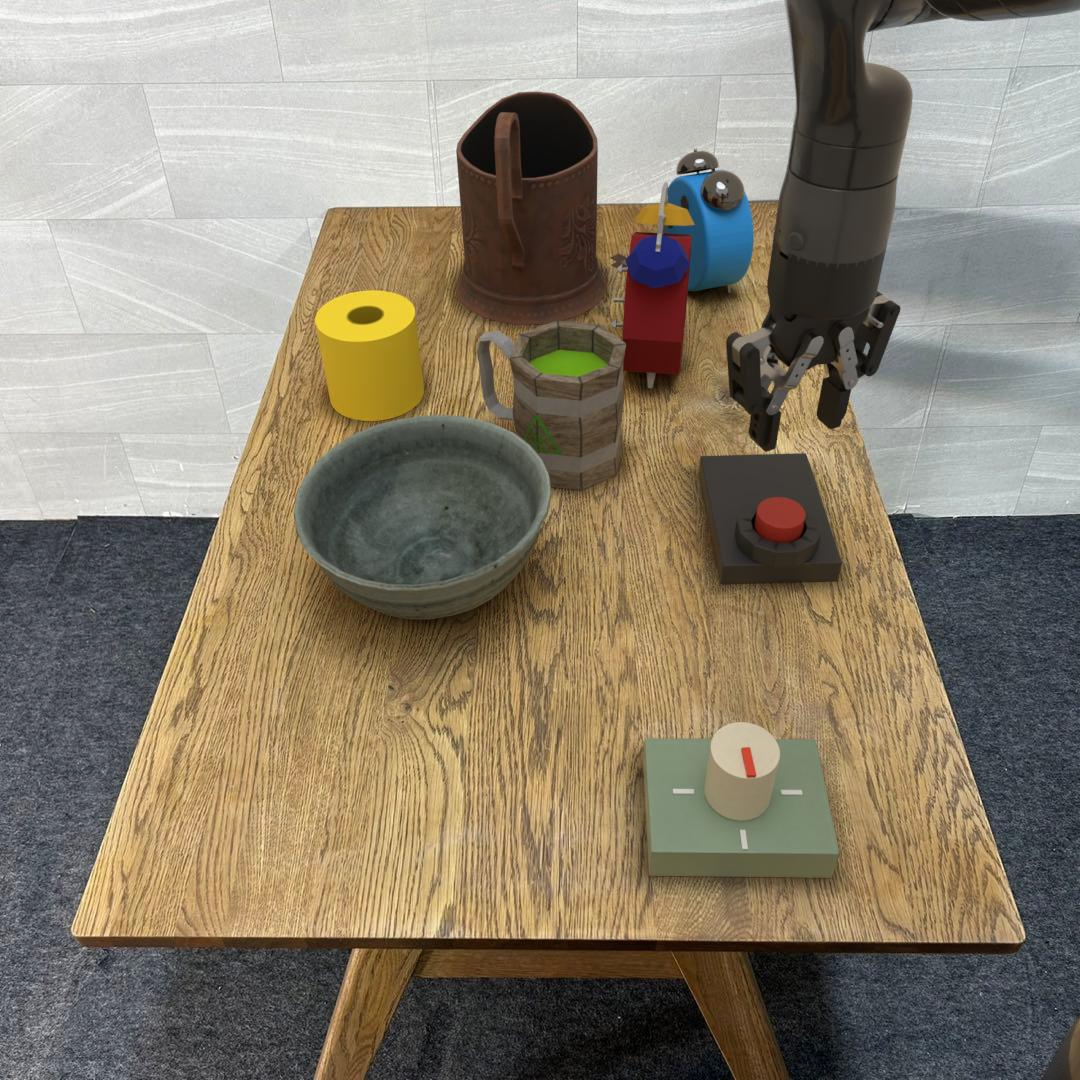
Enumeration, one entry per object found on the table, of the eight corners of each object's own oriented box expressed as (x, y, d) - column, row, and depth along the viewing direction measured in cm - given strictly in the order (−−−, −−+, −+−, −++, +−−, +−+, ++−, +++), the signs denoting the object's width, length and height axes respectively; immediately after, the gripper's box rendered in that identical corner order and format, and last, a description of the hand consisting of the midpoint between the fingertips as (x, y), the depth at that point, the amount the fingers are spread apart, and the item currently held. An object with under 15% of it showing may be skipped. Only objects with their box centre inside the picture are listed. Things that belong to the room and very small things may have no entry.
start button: (806, 542, 87) (810, 527, 86) (758, 544, 87) (761, 528, 86) (797, 511, 90) (800, 496, 89) (751, 512, 90) (753, 497, 89)
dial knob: (699, 766, 72) (706, 720, 68) (763, 763, 72) (773, 717, 68) (709, 822, 68) (716, 777, 65) (776, 819, 68) (787, 774, 65)
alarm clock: (748, 304, 123) (763, 180, 113) (699, 313, 122) (711, 189, 112) (701, 255, 132) (712, 136, 122) (656, 263, 131) (663, 144, 121)
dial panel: (809, 764, 75) (816, 737, 73) (832, 878, 68) (840, 852, 66) (642, 762, 76) (644, 736, 73) (648, 876, 69) (651, 850, 67)
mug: (644, 445, 103) (650, 340, 95) (586, 505, 97) (587, 398, 89) (515, 397, 110) (510, 295, 102) (452, 450, 104) (441, 345, 95)
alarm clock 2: (678, 404, 108) (693, 222, 95) (596, 398, 110) (598, 218, 96) (686, 329, 119) (700, 157, 106) (611, 324, 120) (615, 153, 107)
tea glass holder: (614, 253, 133) (619, 46, 116) (593, 355, 116) (596, 129, 99) (471, 246, 135) (457, 42, 119) (430, 345, 118) (406, 122, 101)
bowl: (598, 551, 92) (600, 462, 85) (457, 710, 79) (446, 620, 73) (414, 474, 101) (402, 387, 94) (260, 606, 88) (234, 517, 81)
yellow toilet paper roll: (323, 421, 108) (307, 342, 101) (337, 368, 115) (323, 291, 109) (419, 420, 107) (409, 340, 101) (428, 366, 115) (419, 289, 108)
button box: (839, 584, 88) (847, 550, 86) (721, 588, 88) (725, 553, 86) (802, 470, 100) (809, 437, 97) (698, 473, 100) (701, 440, 97)
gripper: (879, 190, 75) (839, 386, 87) (710, 233, 71) (691, 434, 82) (952, 232, 70) (900, 434, 82) (775, 281, 66) (745, 488, 77)
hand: (795, 433), depth 82 cm, fingers open, 5 cm apart
